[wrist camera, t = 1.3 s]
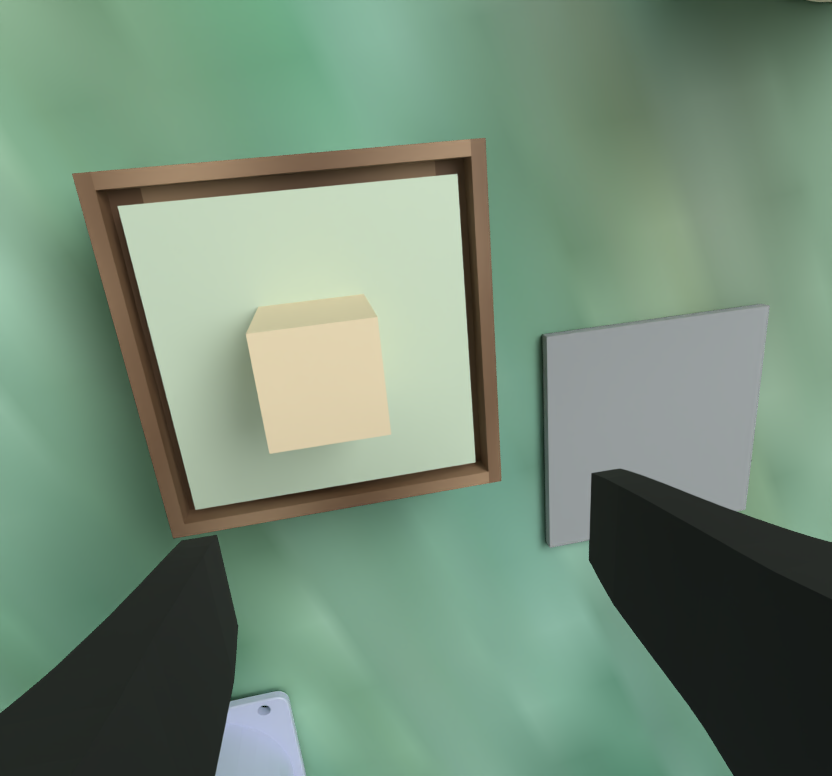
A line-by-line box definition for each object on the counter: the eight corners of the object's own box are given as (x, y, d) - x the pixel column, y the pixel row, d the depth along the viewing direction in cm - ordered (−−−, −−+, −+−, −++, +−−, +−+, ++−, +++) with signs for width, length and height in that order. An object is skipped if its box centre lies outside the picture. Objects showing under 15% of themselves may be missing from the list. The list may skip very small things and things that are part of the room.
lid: (200, 496, 17) (170, 579, 13) (127, 205, 14) (63, 207, 10) (468, 451, 18) (510, 516, 14) (450, 174, 15) (495, 167, 12)
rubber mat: (546, 542, 24) (549, 547, 23) (542, 334, 21) (546, 336, 20) (738, 504, 25) (745, 509, 24) (761, 303, 22) (769, 305, 21)
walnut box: (197, 478, 20) (173, 538, 16) (122, 179, 17) (72, 173, 13) (469, 434, 21) (501, 481, 18) (450, 150, 18) (485, 137, 14)
